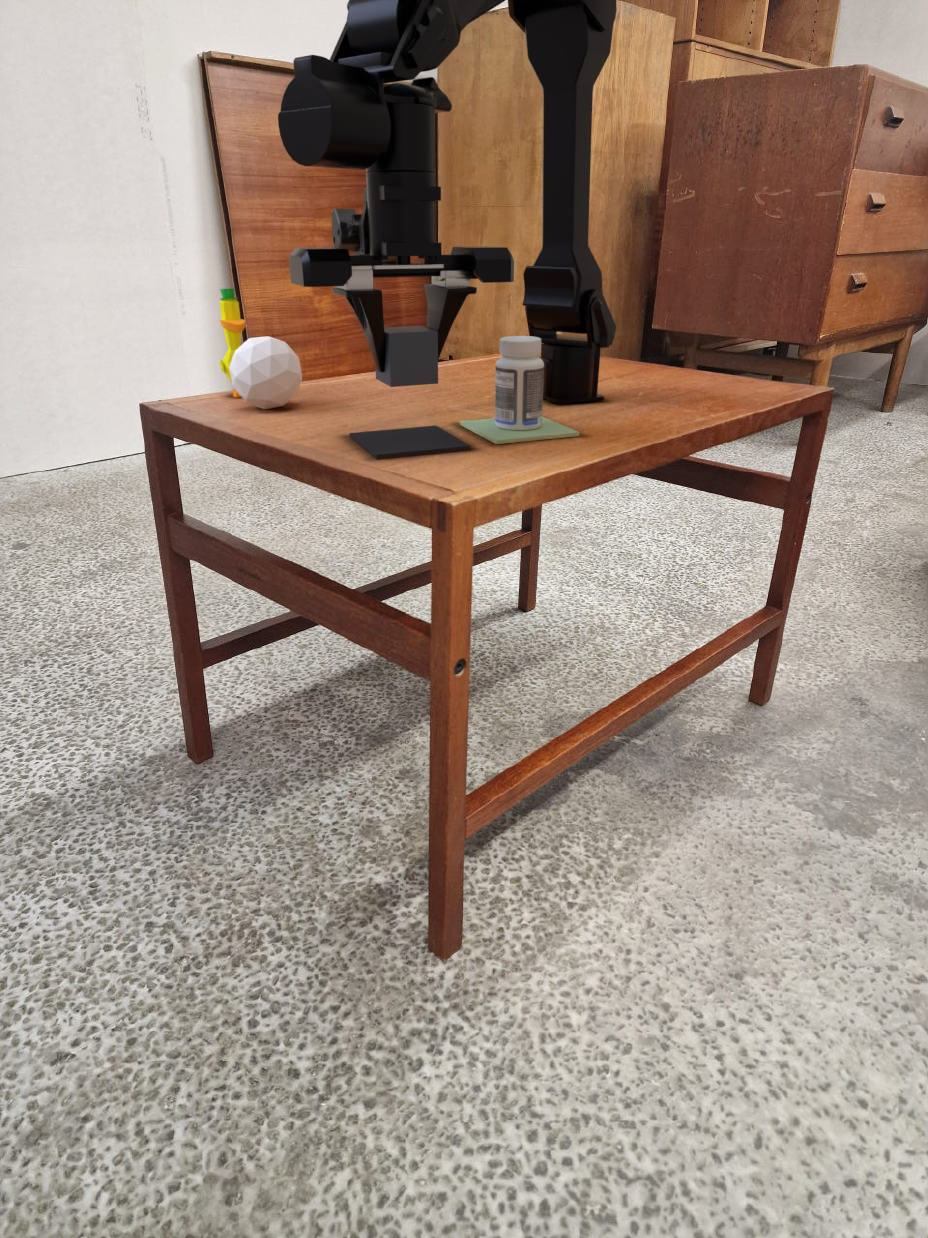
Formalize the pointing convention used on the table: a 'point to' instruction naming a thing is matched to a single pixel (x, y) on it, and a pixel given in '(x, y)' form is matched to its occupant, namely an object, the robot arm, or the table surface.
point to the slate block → (410, 356)
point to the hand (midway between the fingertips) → (406, 369)
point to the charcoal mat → (408, 442)
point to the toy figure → (230, 329)
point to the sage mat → (518, 431)
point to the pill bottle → (519, 384)
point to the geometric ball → (265, 372)
